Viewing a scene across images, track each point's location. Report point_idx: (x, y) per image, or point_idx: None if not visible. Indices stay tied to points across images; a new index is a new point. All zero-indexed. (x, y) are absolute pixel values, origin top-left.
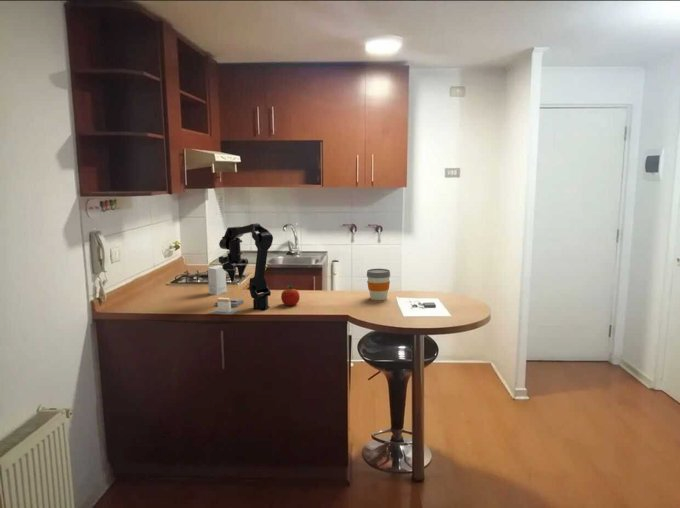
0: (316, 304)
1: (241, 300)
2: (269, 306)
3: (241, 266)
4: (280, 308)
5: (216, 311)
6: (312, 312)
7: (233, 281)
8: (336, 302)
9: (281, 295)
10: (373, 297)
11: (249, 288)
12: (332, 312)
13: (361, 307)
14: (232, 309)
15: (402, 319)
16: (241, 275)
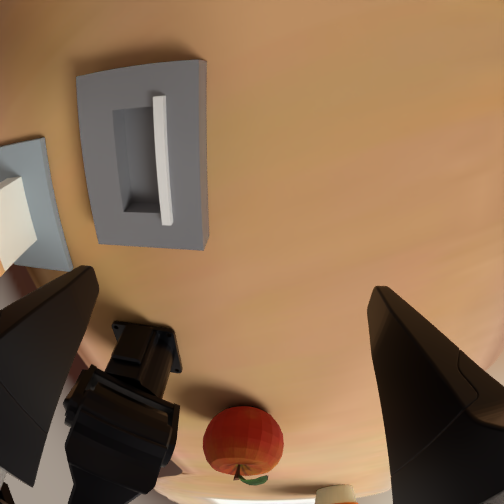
0: None
1: (190, 239)
2: (177, 372)
3: (431, 500)
4: (182, 397)
5: (4, 170)
6: (175, 445)
7: (93, 293)
8: (293, 467)
9: (220, 436)
10: (319, 493)
11: (70, 400)
12: (193, 464)
13: (251, 485)
14: (56, 235)
15: (191, 495)
16: (374, 351)
